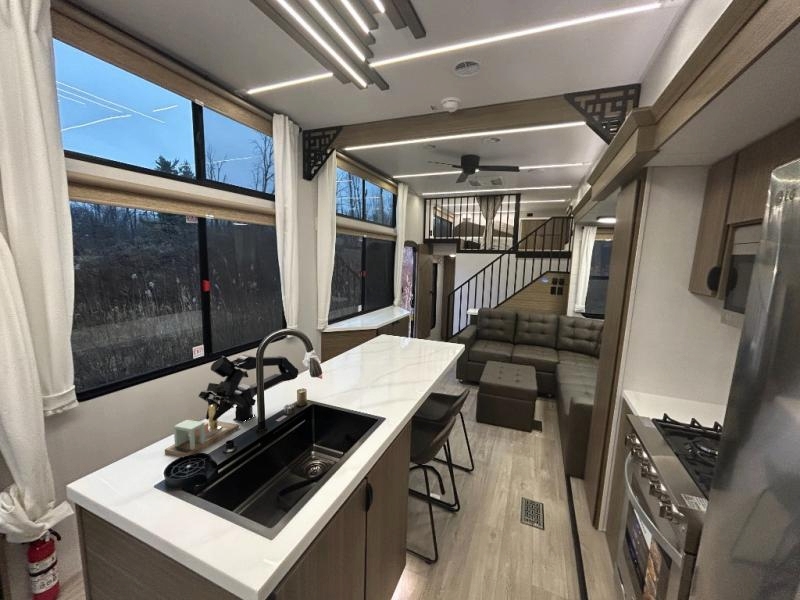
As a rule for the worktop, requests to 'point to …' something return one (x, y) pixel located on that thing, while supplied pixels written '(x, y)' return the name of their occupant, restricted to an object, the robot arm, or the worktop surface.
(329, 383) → the worktop surface
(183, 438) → the tunnel
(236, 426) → the track board
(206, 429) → the terracotta block
